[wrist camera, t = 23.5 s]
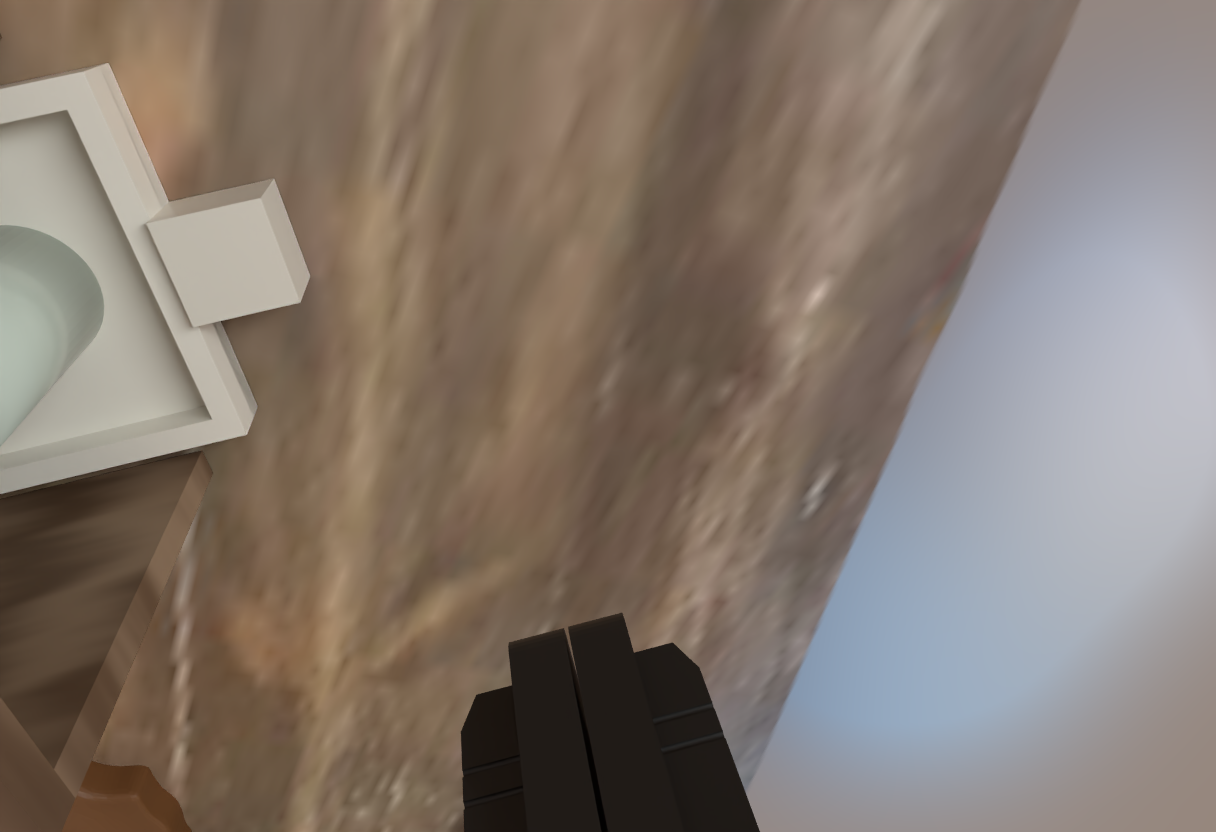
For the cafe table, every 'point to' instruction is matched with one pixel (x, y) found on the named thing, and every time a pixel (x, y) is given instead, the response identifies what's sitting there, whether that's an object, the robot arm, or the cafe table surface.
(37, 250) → the pale green rounded cylinder
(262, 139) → the cafe table surface
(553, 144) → the cafe table surface
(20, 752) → the wood grain block
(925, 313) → the cafe table surface
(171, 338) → the tray
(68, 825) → the plant
